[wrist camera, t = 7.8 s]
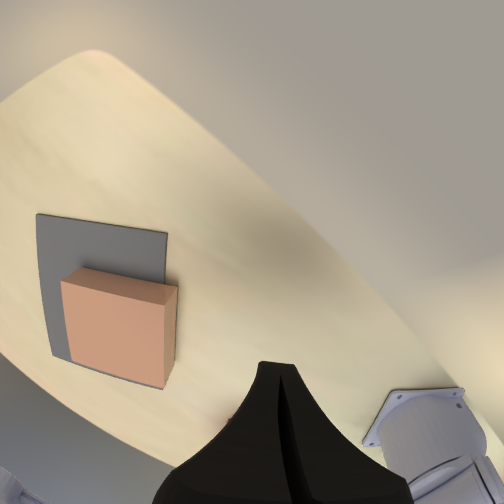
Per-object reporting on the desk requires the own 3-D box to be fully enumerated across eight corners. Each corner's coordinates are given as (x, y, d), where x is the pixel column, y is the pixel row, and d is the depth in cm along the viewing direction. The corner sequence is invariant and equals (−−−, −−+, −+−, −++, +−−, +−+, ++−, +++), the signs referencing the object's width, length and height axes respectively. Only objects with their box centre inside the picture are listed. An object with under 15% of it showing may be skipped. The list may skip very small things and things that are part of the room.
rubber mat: (167, 233, 20) (166, 234, 20) (163, 388, 24) (162, 390, 24) (37, 213, 21) (35, 214, 20) (54, 353, 25) (52, 355, 24)
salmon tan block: (164, 305, 18) (60, 280, 18) (164, 388, 20) (71, 360, 20) (178, 285, 21) (83, 266, 21) (174, 363, 23) (89, 340, 23)
